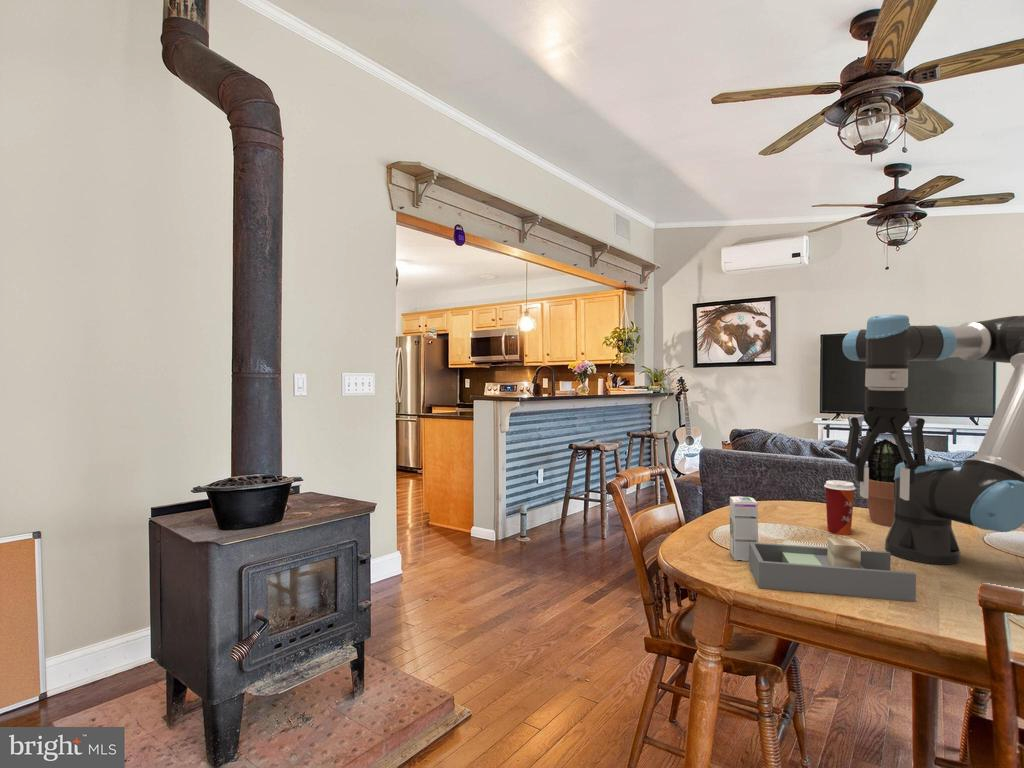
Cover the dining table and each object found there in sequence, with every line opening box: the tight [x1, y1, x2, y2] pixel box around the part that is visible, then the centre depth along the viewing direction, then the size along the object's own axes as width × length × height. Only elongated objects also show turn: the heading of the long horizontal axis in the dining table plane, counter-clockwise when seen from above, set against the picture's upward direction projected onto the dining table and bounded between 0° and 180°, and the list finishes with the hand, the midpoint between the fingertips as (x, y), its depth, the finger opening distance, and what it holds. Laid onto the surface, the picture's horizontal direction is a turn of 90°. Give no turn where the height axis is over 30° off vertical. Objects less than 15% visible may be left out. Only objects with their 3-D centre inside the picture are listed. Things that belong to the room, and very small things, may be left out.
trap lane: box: [748, 542, 917, 602], centre depth 124 cm, size 29×14×6 cm, turn 75°
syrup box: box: [729, 495, 759, 562], centre depth 140 cm, size 6×6×14 cm
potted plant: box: [865, 438, 903, 527], centre depth 170 cm, size 14×14×25 cm
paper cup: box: [823, 479, 856, 536], centre depth 161 cm, size 8×8×14 cm
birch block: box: [827, 537, 862, 568], centre depth 123 cm, size 5×5×5 cm
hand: (884, 497), depth 121 cm, fingers open, 7 cm apart
